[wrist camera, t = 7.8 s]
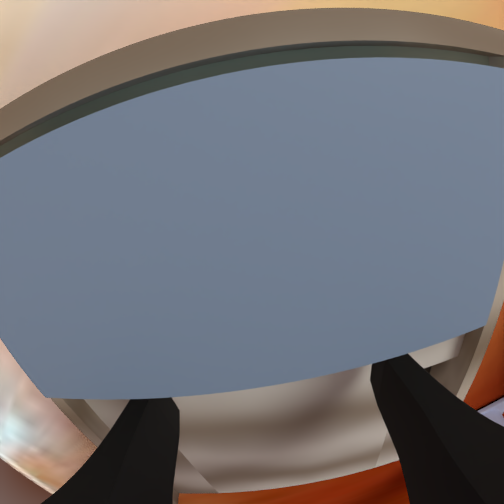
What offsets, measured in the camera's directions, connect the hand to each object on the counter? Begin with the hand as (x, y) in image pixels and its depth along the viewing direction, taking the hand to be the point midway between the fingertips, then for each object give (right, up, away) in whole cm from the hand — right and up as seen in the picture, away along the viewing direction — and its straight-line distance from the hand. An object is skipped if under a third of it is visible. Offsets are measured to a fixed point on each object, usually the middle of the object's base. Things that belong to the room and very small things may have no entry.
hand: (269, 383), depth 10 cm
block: (-1, +6, -2) cm, 6 cm away
